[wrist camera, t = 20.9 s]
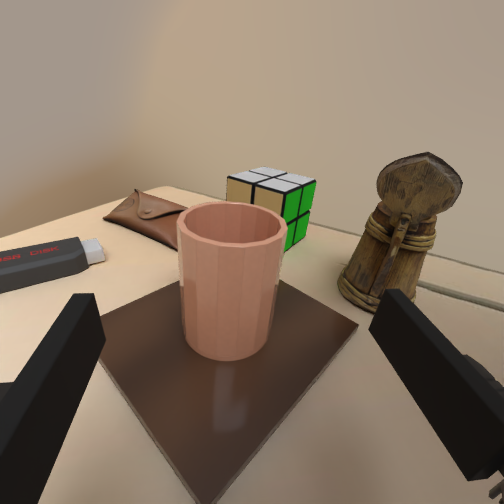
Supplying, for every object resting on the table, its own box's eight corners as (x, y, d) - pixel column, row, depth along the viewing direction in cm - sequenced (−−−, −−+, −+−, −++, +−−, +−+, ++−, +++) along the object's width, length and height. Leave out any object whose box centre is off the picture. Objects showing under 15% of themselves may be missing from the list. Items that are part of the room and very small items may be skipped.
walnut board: (356, 331, 28) (359, 324, 28) (205, 516, 15) (205, 509, 15) (235, 260, 38) (236, 254, 38) (80, 334, 25) (77, 326, 25)
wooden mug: (314, 316, 30) (362, 141, 21) (347, 264, 40) (389, 132, 31) (402, 357, 26) (507, 164, 17) (414, 288, 36) (484, 145, 27)
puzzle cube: (258, 219, 51) (263, 165, 46) (305, 237, 47) (317, 179, 42) (223, 237, 44) (225, 175, 39) (275, 259, 39) (286, 192, 34)
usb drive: (-19, 273, 31) (-29, 252, 30) (97, 247, 38) (93, 230, 37) (-20, 298, 28) (-32, 276, 26) (107, 265, 35) (103, 246, 33)
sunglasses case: (97, 217, 45) (109, 178, 45) (130, 225, 52) (141, 191, 51) (180, 251, 38) (195, 206, 38) (206, 255, 45) (220, 217, 44)
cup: (286, 327, 27) (307, 224, 21) (224, 380, 21) (231, 260, 16) (229, 288, 31) (234, 195, 26) (165, 323, 26) (155, 215, 20)
